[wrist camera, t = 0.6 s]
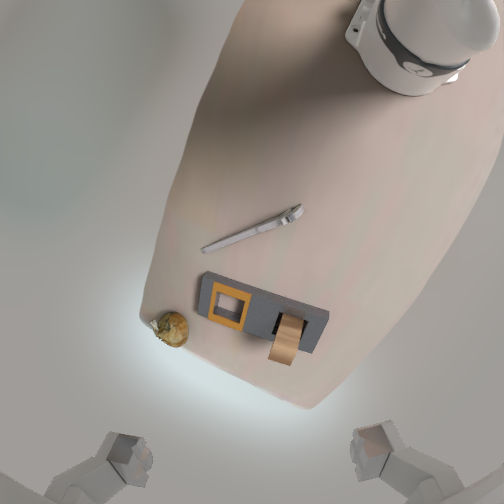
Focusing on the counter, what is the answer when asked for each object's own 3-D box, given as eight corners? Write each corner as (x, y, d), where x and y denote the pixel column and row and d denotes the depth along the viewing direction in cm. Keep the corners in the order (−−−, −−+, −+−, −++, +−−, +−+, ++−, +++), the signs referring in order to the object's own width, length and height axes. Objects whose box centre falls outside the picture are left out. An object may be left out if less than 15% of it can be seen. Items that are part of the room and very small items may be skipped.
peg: (284, 308, 52) (273, 342, 44) (304, 315, 52) (297, 350, 43) (279, 324, 54) (267, 358, 45) (298, 330, 54) (290, 366, 45)
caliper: (301, 202, 44) (297, 212, 39) (304, 208, 44) (300, 219, 39) (201, 247, 53) (186, 261, 47) (204, 253, 53) (189, 267, 47)
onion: (165, 328, 64) (148, 349, 57) (164, 302, 60) (145, 322, 53) (194, 339, 62) (179, 361, 55) (195, 312, 59) (177, 334, 52)
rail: (207, 271, 54) (201, 277, 51) (329, 311, 50) (328, 320, 48) (202, 307, 58) (196, 314, 55) (313, 345, 54) (311, 354, 52)
